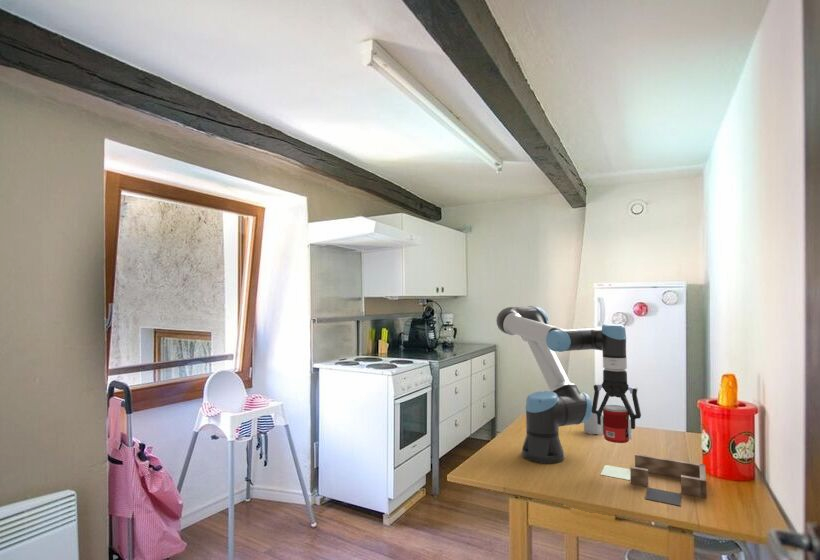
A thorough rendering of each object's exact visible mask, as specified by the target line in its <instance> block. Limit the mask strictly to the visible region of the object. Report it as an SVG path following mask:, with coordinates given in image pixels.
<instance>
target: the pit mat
mask: <svg viewBox="0 0 820 560" xmlns="http://www.w3.org/2000/svg"><path fill="white" fill-rule="evenodd" d="M644 500H647V501H653V502H657V503H658V502H659V503H663V504H667V505H671V506H672V505H673V506H677V507H681V506H682V501H681V500H682V493H681V492H680V493H678V492H674V491H668V490H663V489H657V488H652V487H649V486H648V487H647V490H646V494H645V499H644Z"/></svg>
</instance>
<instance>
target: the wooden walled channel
mask: <svg viewBox="0 0 820 560" xmlns="http://www.w3.org/2000/svg"><path fill="white" fill-rule="evenodd" d="M629 469H630V477H631V478H630V484H632V485H637V486H641V487H647V488H648V487H649V473H654V474H659V475H664V476H671V477H677V478H680V494H684V495H690V496H694V497H698V498H699V497H700V498H704V499H705V498H706V499H707V477H706V476H707V474H706V465H705V464H702V463H697V462H696V463H695V462H691V461H690V462H689V461H683V460H682V461H681V460H677V459H672V458H664V457H663V458H662V457H659V456H653V455H646V454H639V453H635V454H634V466H632V465H630V468H629Z"/></svg>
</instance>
